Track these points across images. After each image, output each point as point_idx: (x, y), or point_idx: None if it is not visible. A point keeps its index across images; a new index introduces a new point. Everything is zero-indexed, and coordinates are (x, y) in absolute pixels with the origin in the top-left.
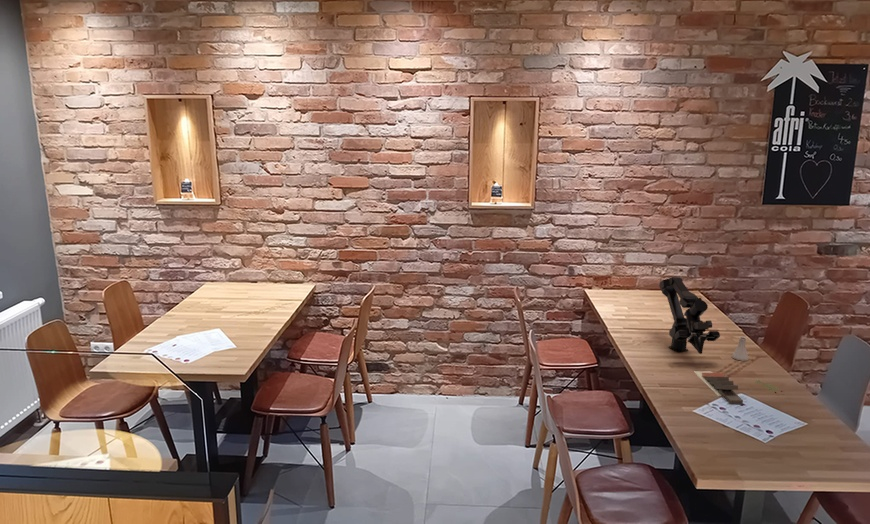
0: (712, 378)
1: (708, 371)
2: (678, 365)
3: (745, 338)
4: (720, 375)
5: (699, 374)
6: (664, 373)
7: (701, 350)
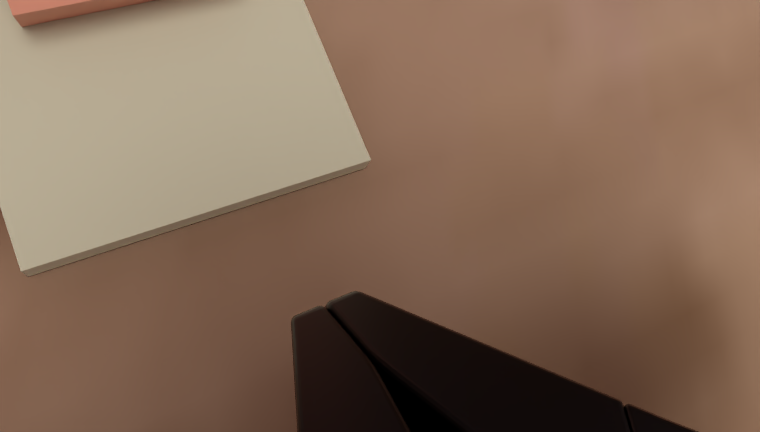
0: None
1: (87, 244)
2: None
3: None
4: None
5: (273, 49)
6: (712, 17)
7: (338, 352)
